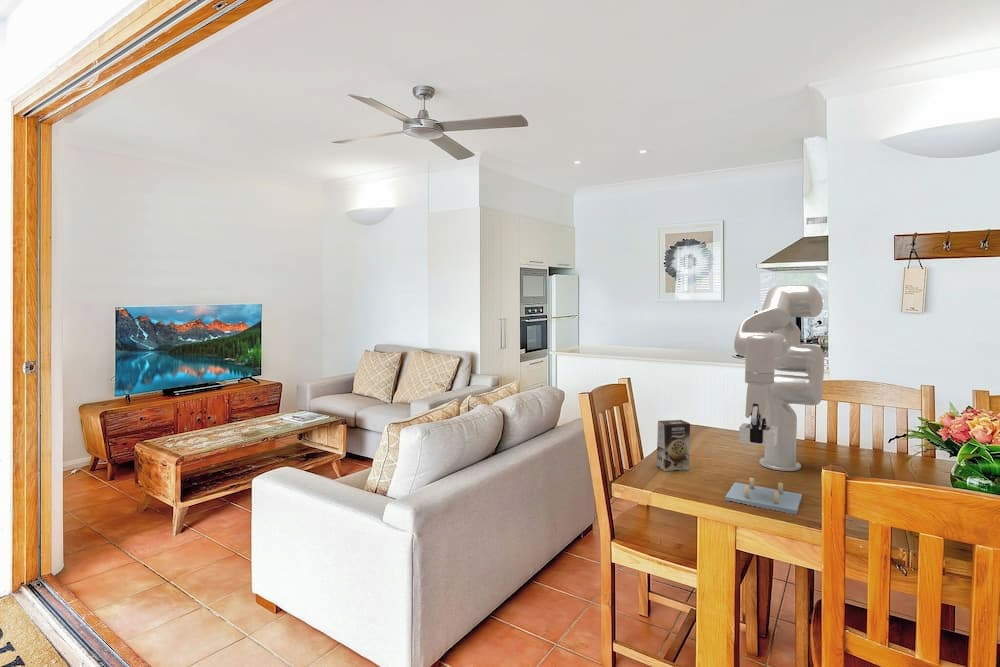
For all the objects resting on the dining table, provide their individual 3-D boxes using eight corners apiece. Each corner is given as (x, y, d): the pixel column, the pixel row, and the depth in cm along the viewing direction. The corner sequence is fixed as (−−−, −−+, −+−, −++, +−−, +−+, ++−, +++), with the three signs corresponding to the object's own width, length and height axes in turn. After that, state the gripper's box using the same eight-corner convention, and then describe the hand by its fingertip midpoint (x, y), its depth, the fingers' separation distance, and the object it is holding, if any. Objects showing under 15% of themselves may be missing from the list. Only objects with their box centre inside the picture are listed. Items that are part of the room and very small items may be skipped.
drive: (743, 437, 156) (743, 422, 156) (777, 442, 151) (777, 426, 150) (739, 442, 152) (739, 426, 151) (773, 447, 146) (774, 431, 146)
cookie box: (665, 472, 176) (665, 424, 175) (656, 465, 182) (656, 420, 181) (690, 470, 177) (690, 423, 176) (680, 464, 184) (681, 418, 182)
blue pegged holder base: (734, 486, 162) (735, 472, 162) (801, 498, 152) (802, 483, 151) (725, 500, 150) (725, 486, 150) (796, 514, 140) (797, 499, 140)
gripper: (751, 373, 159) (750, 431, 160) (738, 381, 145) (737, 445, 146) (778, 375, 154) (777, 435, 156) (768, 383, 141) (767, 449, 142)
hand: (758, 439), depth 151 cm, fingers closed on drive, 5 cm apart
